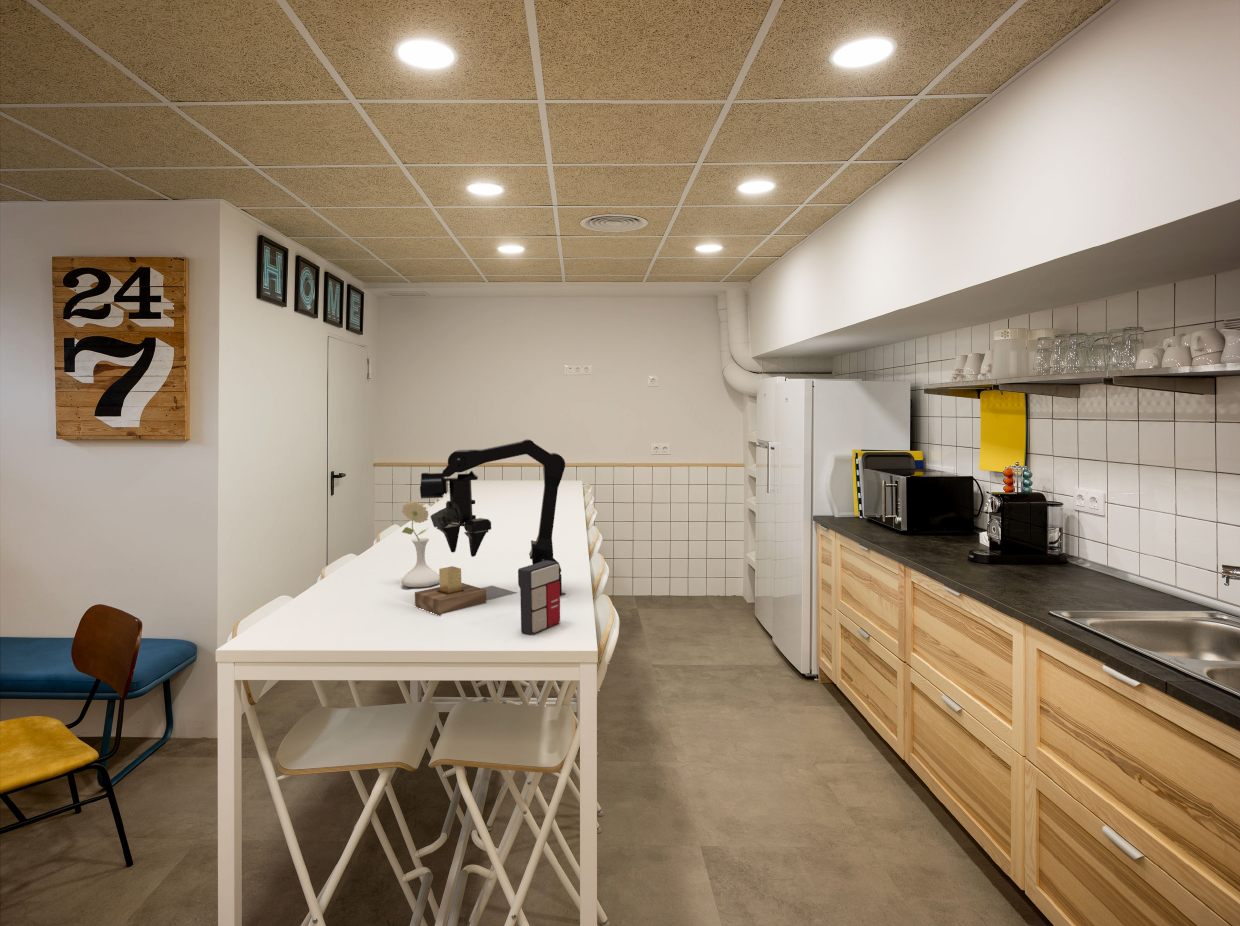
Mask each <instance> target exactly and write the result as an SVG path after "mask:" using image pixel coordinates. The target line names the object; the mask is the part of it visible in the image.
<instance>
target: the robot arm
mask: <svg viewBox="0 0 1240 926" xmlns="http://www.w3.org/2000/svg"><path fill="white" fill-rule="evenodd" d="M522 455H523V456H524V455H527V456H528V457H530V458H532V459H533V460H535V461H536V462H537V463H539V464H541V465H542V470H543V471H542V475H543V485H544V487H543V492H542V493H543V494H542V503H541V509H540V518H539V525H538V526H539V527H538V535H537V537H536V539H535V540H530V547H531V548H530V551H529V553H528V555H529V559H530V560H531V562H532V565H533V564H536V563H539V562H543V561H546V560H548V561H555V562H558V561H557V560H556V559H555V558H554V550H553V549H554V546H553V530H554V529H553V528H554V522H555V514H556V506H557V499H558V490H559V486H560V483H561V480H562V478H563V476H564V471H565V469H566V461H565V459H564V457H563V456H561V455H560V454H558V453H556V452H549V451H547V450H545V449H544V448H542V446H539V445H538V444H536V443H535V442H534V441H533V440H531V439H528V438H527V439H524V440H520V441H517V442H512V443H506V444H502V445H497V446H492V447H487V448H482V449H458V450H455V451H453V452H452V453H450V454H449V456H448V459H447V466H446V467H445V468H444V469H443V470H442V472H422V473H420V486H419V493H420V495H419V496H420V498H421V499H441V498H442V499H443V498H444V495H446V494H448V486H449V500H447V501H446V502H445V507H443V509H440V510H437V512H434V513H433V514H431V515H430V520H431V523H432V525H433V527H434V528H436V530H438V531H440V532H442V533H443V535H444V537H445V539H446V542H447V545H448V547H449V549H450V552H451V553H455V552H456V551H457V545H458V541H459V535H460V534H459V533H460V529H461V527H463V528H464V530H465V531H464V532H463V533H464V535H465V536H466V537H467V538H468V544H469V552H470V556H471V557H476V556H477V553H478V552H479V551H478V550H479V548H480V546H481V544H482V543H483V540H484V538H485V536H486V534H487V533H489V531H490V530H492V521H491V520H490V519H488V518H483V517H480V518H477V516H476V514H473V505H476V500H475V499H473V498H472V497H473V496H472V495H473V493H472V492H473V491H472V481H477V480H478V478H479V476H478V475H476V474H475V472H474V471H473V470H471V469H474V468H476V467H478V466H481V465H483V464H486V463H491V462H495V461H499V460H505V459H509V458H514V457H520V456H522ZM468 470H471V471H469V473H463V472H466V471H468ZM456 473H458V474H457V477H451V476H453V475H454V474H456ZM448 482H449V485H448ZM559 582H560V597H562V596H565V595H566V594H567V593H566V592H563V590H562V589H563V588H562V584H563V583H562V568H561V565H560V564H559Z"/></svg>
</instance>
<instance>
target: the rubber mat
mask: <svg viewBox="0 0 1240 926" xmlns="http://www.w3.org/2000/svg"><path fill="white" fill-rule="evenodd" d="M481 588H482V589H485V590H486V602H487V601H489V600H494V599H497V598H498V599H499V598H503V597H506V596H511V595H515V594H518V592H517V591H513V590H509V589H506V588H503V587H499V586H495V585H489V586H488V585H487V586H485V587H481Z"/></svg>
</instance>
